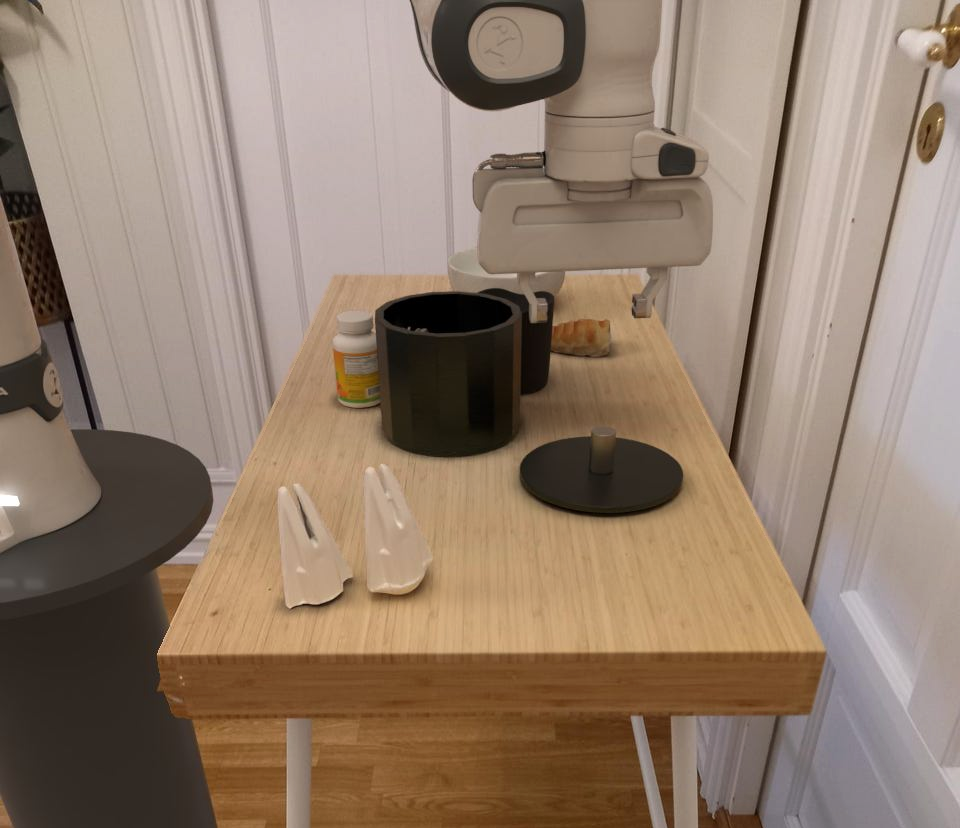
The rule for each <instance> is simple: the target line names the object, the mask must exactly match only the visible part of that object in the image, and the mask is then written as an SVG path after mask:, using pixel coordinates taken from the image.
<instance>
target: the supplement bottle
mask: <svg viewBox="0 0 960 828" xmlns="http://www.w3.org/2000/svg"><path fill="white" fill-rule="evenodd" d="M336 326H337V331H338V333H337V334H336V335H335V336H334V337H333V339H332V353H333V354H332V355H333V362H334V374H335V384H336V385H335V386H336V394H337V400H338V403H340V404H341V405H343V406H345V407H348V408H353V409H354V408H356V409H360V408H369V407H373V406H377V405H379V404H381V401H380V387H379V373H378V359H377V344H376V331H375V332H374V331H373V329H374V327H375V322H374V315H373V313H371V312H370V311H366V310H348V311H343V312H340V313H339V314H337V316H336Z"/></svg>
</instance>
